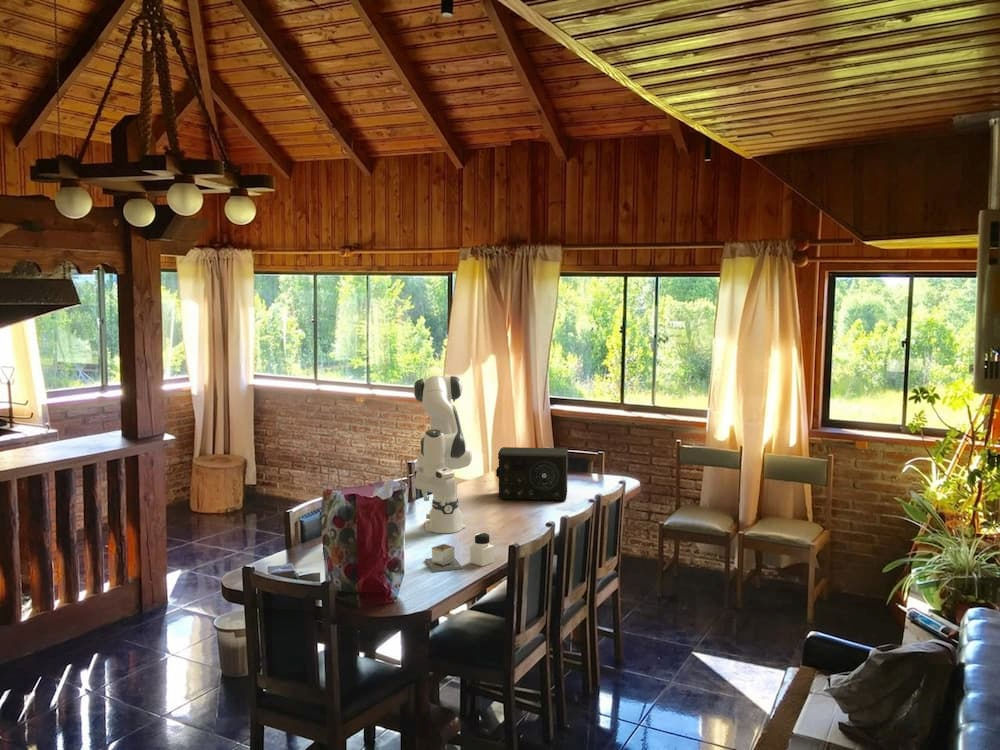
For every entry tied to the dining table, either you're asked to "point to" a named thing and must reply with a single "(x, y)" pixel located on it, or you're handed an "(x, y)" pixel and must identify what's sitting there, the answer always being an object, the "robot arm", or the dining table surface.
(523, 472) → the vintage radio
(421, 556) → the dining table surface
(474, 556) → the medicine bottle
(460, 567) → the duct base
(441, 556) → the cream brown-topped cube
